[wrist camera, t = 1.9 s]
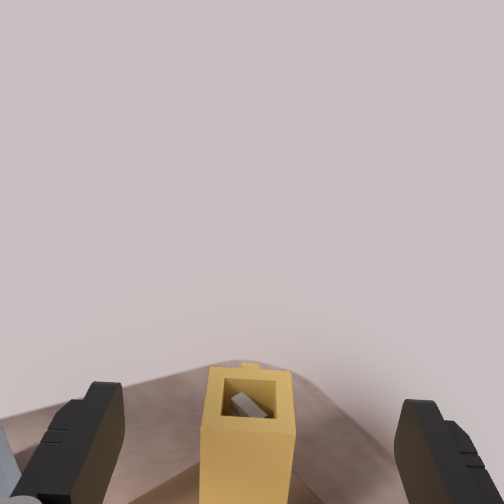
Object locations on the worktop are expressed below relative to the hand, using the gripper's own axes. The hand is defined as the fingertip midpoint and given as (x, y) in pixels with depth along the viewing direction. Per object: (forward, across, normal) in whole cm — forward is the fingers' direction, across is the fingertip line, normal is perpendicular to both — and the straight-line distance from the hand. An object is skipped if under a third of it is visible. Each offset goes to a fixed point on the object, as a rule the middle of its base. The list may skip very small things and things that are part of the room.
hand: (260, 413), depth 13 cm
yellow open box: (+11, 0, +20) cm, 23 cm away
